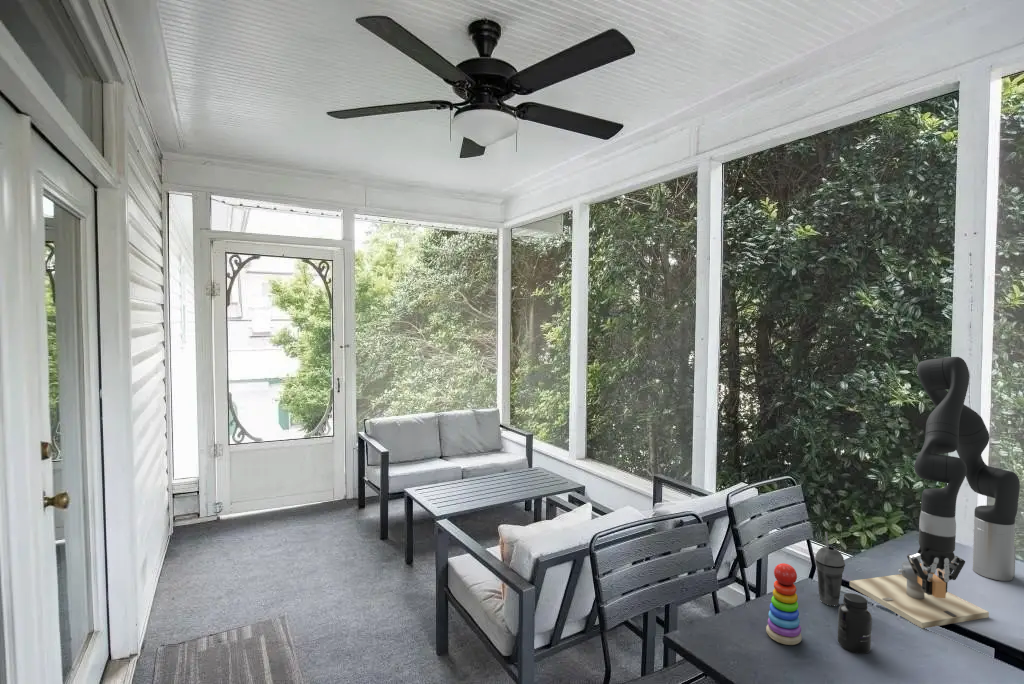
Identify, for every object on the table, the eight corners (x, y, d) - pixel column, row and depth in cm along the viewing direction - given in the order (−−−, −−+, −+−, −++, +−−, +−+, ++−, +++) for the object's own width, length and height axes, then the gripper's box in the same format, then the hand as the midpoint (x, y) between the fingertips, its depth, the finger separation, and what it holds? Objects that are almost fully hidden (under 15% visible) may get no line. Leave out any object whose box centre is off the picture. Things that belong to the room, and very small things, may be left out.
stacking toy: (758, 631, 133) (759, 559, 133) (781, 624, 136) (783, 554, 136) (785, 649, 126) (786, 573, 125) (809, 642, 129) (810, 567, 128)
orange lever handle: (893, 570, 151) (893, 557, 151) (925, 573, 150) (926, 559, 149) (922, 596, 137) (922, 581, 137) (958, 599, 136) (959, 584, 135)
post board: (909, 577, 161) (910, 556, 160) (988, 617, 139) (989, 593, 139) (849, 585, 156) (850, 564, 156) (922, 628, 134) (922, 603, 134)
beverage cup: (850, 609, 143) (851, 537, 143) (823, 609, 144) (824, 537, 143) (834, 595, 151) (835, 526, 150) (808, 595, 151) (810, 526, 150)
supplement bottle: (871, 658, 123) (872, 608, 122) (837, 648, 126) (838, 600, 126) (870, 643, 129) (871, 595, 128) (837, 634, 132) (838, 587, 132)
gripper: (953, 525, 142) (950, 587, 142) (899, 523, 142) (897, 585, 143) (976, 536, 134) (973, 602, 135) (919, 534, 135) (916, 600, 136)
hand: (934, 593), depth 139 cm, fingers closed on orange lever handle, 2 cm apart
